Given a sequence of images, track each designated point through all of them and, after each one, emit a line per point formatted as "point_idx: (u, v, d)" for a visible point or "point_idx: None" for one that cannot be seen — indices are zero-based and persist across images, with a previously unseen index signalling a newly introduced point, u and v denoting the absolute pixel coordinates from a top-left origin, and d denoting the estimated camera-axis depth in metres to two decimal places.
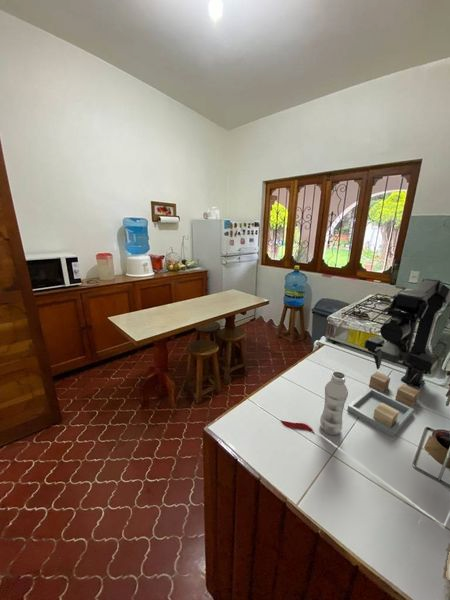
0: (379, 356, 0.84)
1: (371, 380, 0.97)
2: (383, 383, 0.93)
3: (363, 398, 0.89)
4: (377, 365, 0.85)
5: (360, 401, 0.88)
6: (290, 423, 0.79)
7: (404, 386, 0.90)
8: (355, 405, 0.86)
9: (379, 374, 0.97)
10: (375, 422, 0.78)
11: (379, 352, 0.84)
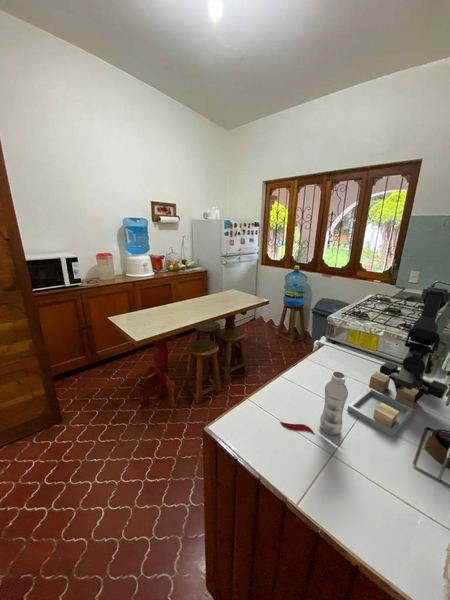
0: None
1: (371, 380, 0.97)
2: (383, 383, 0.93)
3: (363, 398, 0.89)
4: None
5: (360, 401, 0.88)
6: (290, 424, 0.79)
7: None
8: (355, 405, 0.86)
9: (379, 374, 0.97)
10: (375, 422, 0.78)
11: None
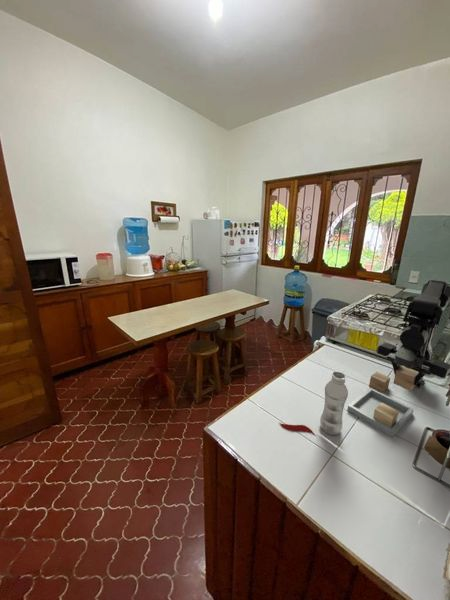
0: (398, 364, 0.83)
1: (371, 380, 0.97)
2: (383, 383, 0.93)
3: (363, 398, 0.89)
4: None
5: (360, 401, 0.88)
6: (290, 426, 0.78)
7: (403, 367, 0.83)
8: (355, 405, 0.86)
9: (379, 374, 0.97)
10: (375, 422, 0.78)
11: None
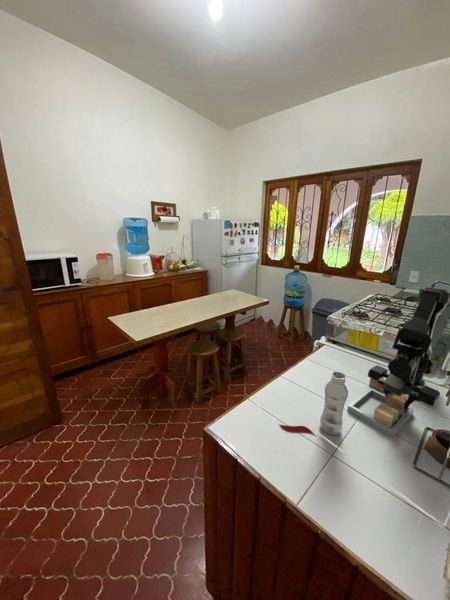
0: None
1: (371, 380, 0.97)
2: None
3: (363, 398, 0.89)
4: None
5: (360, 401, 0.88)
6: (290, 427, 0.78)
7: None
8: (355, 405, 0.86)
9: None
10: (375, 422, 0.78)
11: None
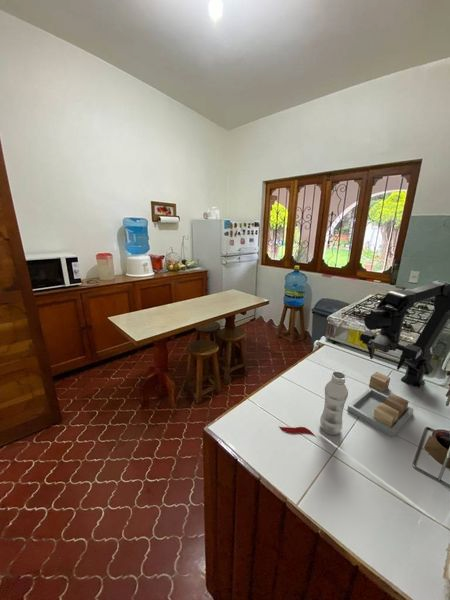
0: (372, 347, 0.96)
1: (371, 380, 0.97)
2: (383, 383, 0.93)
3: (363, 398, 0.89)
4: (370, 355, 0.97)
5: (360, 401, 0.88)
6: (290, 428, 0.77)
7: (393, 395, 0.85)
8: (355, 405, 0.86)
9: (379, 374, 0.97)
10: (375, 422, 0.78)
11: (372, 344, 0.96)
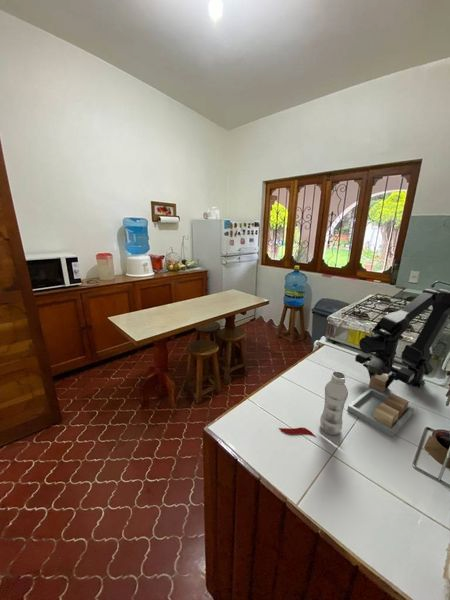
0: None
1: (371, 380, 0.97)
2: (383, 383, 0.93)
3: (363, 398, 0.89)
4: None
5: (360, 401, 0.88)
6: (290, 429, 0.77)
7: (393, 395, 0.85)
8: (355, 405, 0.86)
9: None
10: (375, 422, 0.78)
11: None
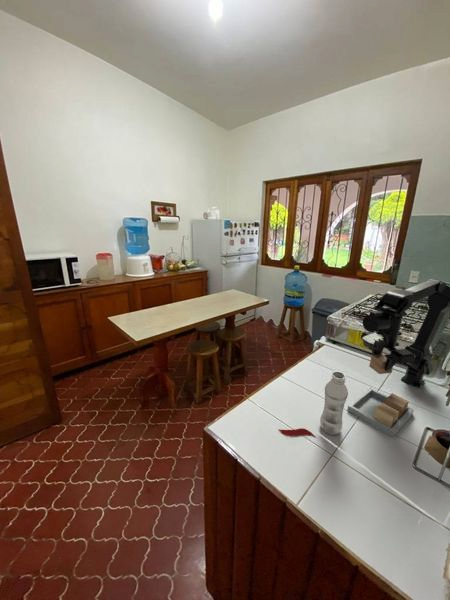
0: (376, 351, 0.92)
1: (371, 359, 0.92)
2: (381, 363, 0.88)
3: (363, 398, 0.89)
4: None
5: (360, 401, 0.88)
6: (290, 431, 0.76)
7: (393, 395, 0.85)
8: (355, 405, 0.86)
9: (384, 356, 0.91)
10: (375, 422, 0.78)
11: None
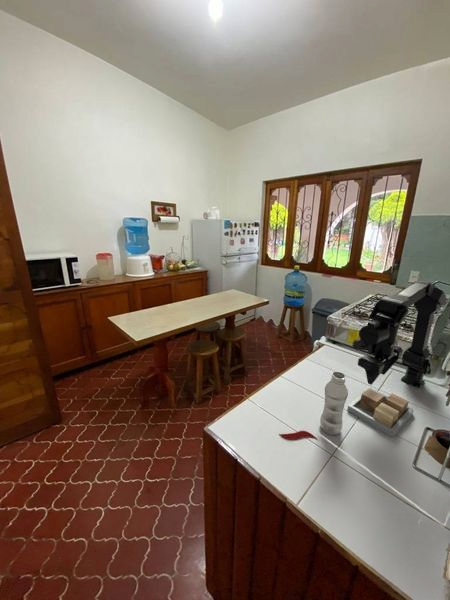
0: (384, 361, 0.85)
1: None
2: None
3: None
4: None
5: None
6: (291, 434, 0.75)
7: (393, 395, 0.85)
8: (355, 405, 0.86)
9: (377, 395, 0.85)
10: (375, 422, 0.78)
11: None
